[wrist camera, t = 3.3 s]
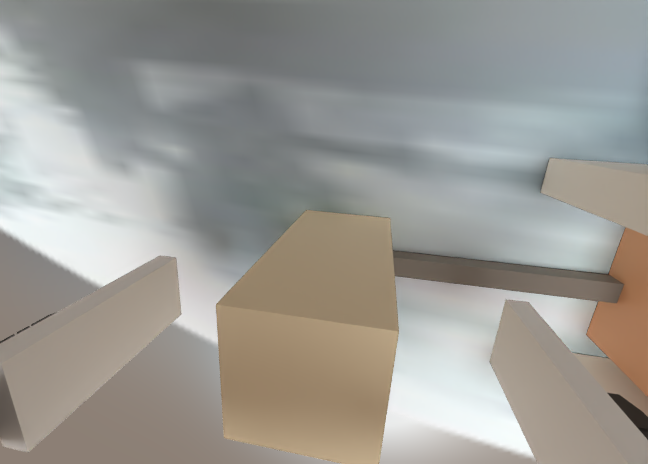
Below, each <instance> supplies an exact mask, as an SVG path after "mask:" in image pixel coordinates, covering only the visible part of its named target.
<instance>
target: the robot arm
mask: <svg viewBox="0 0 648 464" xmlns="http://www.w3.org/2000/svg"><path fill="white" fill-rule="evenodd" d="M180 315H181V305H180V294H179V283H178V272H177V261H176V258H175V257H167V256H158V257H156V258H155V259H153V260H151V261H149V262H147V263H145V264H144V265H142V266H140V267H138V268H136V269H135V270H133V271H131V272H129V273H127V274H125V275H124V276H122V277H120V278H118V279H116V280H115V281H113V282H111V283H109V284H107V285H106V286H104V287H102V288H100V289H98V290H96V291H95V292H93V293H91V294H89V295H87V296H86V297H84V298H82V299H80V300H78V301H77V302H75V303H73V304H71V305H69V306H67V307H66V308H64V309H62V310H60V311H59V312H56V313H53V314H50V315H48V316H46V317H44V318H43V319H41V320H39V321H37V322H35V323H33V324H32V325H31V327H29V326H28V327H26V328H24V329H23V330H21V331H19V332H17V334H16V335H11V336H10V337H8V338H6V339H4V340H2V341H0V439H1V442H2V445H3V447H7V448H11V449H15V450H19V451H24V452H29V451H31V450H32V449H33V448H34V447H35V446H36V445H37V444H38V443H39V442H40V441H42V440H43V439H44V438H45V437H46V436H47V435H48V434H49V433H50V432H52V431H53V430H54V429H55V428H56V427H57V426H58V425H59V424H60V423H62V422H63V421H64V420H65V419H66V418H67V417H68V416H69V415H70V414H72V413H73V412H74V411H75V410H76V409H77V408H78V407H79V406H80V405H81V404H83V403H84V402H85V401H86V400H87V399H88V398H89V397H90V396H91V395H92V394H94V393H95V392H96V391H97V390H98V389H99V388H100V387H101V386H102V385H104V384H105V383H106V382H107V381H108V380H109V379H110V378H111V377H113V376H114V375H115V374H116V373H117V372H118V371H119V370H120V369H121V368H122V367H124V365H126V364H127V363H128V362H129V361H130V360H131V359H132V358H133V357H135V356H136V355H137V354H138V353H139V352H140V351H141V350H142V349H144V348H145V347H146V346H147V345H148V344H149V343H150V342H151V341H152V340H153V339H155V338H156V337H157V336H158V335H159V334H160V333H161V332H162V331H163V330H164V329H166V328H167V327H168V326H169V325H170V324H171V323H172V322H173V321H175V320H176V319H177V318H178V317H179V316H180ZM490 364H491V366H492V368H493V370H494V372H495V374H496V376H497V378H498V381H499V383H500V385H501V387H502V389H503V391H504V393H505V395H506V398H507V400H508V402H509V404H510V406H511V408H512V410H513V412H514V414H515V417H516V419H517V421H518V423H519V425H520V427H521V429H522V431H523V434H524V436H525V438H526V440H527V442H528V444H529V446H530V448H531V451H532V453H533V455H534V457H535V459H536V461H537V463H538V464H648V417H647V416H646V415H645V414H644V412H642V411H641V410H640V409H638V408H637V407H636V406H634V405H633V404H632V403H630V402H629V401H627V400H626V399H625V398H623V397H622V396H621V395H619V394H613V393H607V392H606V391H605V390H604V389H603V388H602V387H601V385H600V384H599V383H598V382H597V381H596V380H595V378H594V377H593V376H592V375H591V374H590V373H589V372H588V370H587V369H586V368H585V367H584V366H583V365H582V363H581V362H580V361H579V360H578V359H577V358H576V357H575V355H574V354H573V353H572V352H571V351H570V350H569V348H568V347H567V346H566V345H565V344H564V343H563V342H562V340H561V339H560V338H559V337H558V336H557V335H556V333H555V332H554V331H553V330H552V329H551V328H550V327H549V325H548V324H547V323H546V322H545V321H544V320H543V318H542V317H541V316H540V315H539V314H538V313H537V312H536V310H535V309H534V308H533V307H532V306H531V305H530V303H529V302H523V301H515V300H507V299H506V300H505V304H504V308H503V312H502V316H501V320H500V324H499V328H498V332H497V335H496V339H495V343H494V347H493V351H492V355H491V359H490Z"/></svg>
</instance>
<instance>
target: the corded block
mask: <svg viewBox="0 0 648 464" xmlns="http://www.w3.org/2000/svg"><path fill="white" fill-rule="evenodd" d="M395 276H398V277H407V278H415V279H423V280H431V281H439V282H447V283H455V284H463V285H471V286H479V287H487V288H496V289H504V290H512V291H520V292H528V293H536V294H544V295H552V296H560V297H568V298H576V299H585V300H593V301H598V304H597V307H596V309H595V312H594V315H593V317H592V320H591V323H590V326H589V328H588V331H587V334H586V335H587V336H588V337H589V338H590V339H591V340H592V341H593V342H594V343H595V344H596V345H597V346H598V347H599V348H600V349H601V350H602V351H603V352H604V353H605V354H606V355H607V356H608V357H609V358H610V359H611V360H612V361H613V362H614V363H615V364H616V365H617V366H618V367H619V368H620V369H621V370H622V371H623V372H624V373H625V374H626V375H627V376H628V377H629V379H630V380H631V381H632V382H633V383H634V384H635V385H636V386H637V387H638V388H639V389H640V390H641V391H642V392H643V393H644V394H645V395H646V396H647V397H648V236H646V235H644V234H641V233H639V232H637V231H634V230H632V229H629V228H627V227H626V228H625V230H624V233H623V236H622V239H621V241H620V244H619V247H618V249H617V252H616V255H615V258H614V260H613V263H612V266H611V268H610V271H609V274H608V275H605V274H597V273H588V272H579V271H570V270H561V269H552V268H543V267H534V266H525V265H516V264H507V263H498V262H489V261H481V260H472V259H463V258H454V257H445V256H436V255H427V254H418V253H409V252H400V251H393V249H392V236H391V223H390V218H384V217H374V216H363V215H353V214H343V213H333V212H322V211H312V210H306V211H305V212H304V213H303V214H302V215H301V216H300V217H299V218H298V219H297V220H296V221H295V222H294V223H293V224H292V225H291V226H290V227H289V228H288V230H287V231H286V232H285V233H284V234H283V235H282V236H281V237H280V238H279V239H278V240H277V241H276V242H275V243H274V244H273V245H272V246H271V247H270V248H269V249H268V250H267V252H266V253H265V254H264V255H263V256H262V257H261V258H260V259H259V260H258V261H257V262H256V263H255V264H254V265H253V266H252V267H251V268H250V269H249V270H248V271H247V272H246V274H245V275H244V276H243V277H242V278H241V279H240V280H239V281H238V282H237V283H236V284H235V285H234V286H233V287H232V288H231V289H230V290H229V291H228V292H227V293H226V294H225V296H224V297H223V298H222V299H221V300H220V301H219V302H218V303H217V304H216V313H217V330H218V347H219V363H220V378H221V396H222V413H223V430H224V438H225V439H230V440H234V441H239V442H244V443H248V444H253V445H258V446H263V447H267V448H272V449H277V450H281V451H286V452H290V453H295V454H300V455H304V456H309V457H314V458H318V459H323V460H328V461H332V462H337V463H342V464H379V461H380V454H381V447H382V441H383V434H384V427H385V420H386V414H387V407H388V401H389V394H390V387H391V381H392V374H393V367H394V361H395V354H396V347H397V341H398V334H399V327H398V314H397V301H396V288H395Z"/></svg>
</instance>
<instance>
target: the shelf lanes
mask: <svg viewBox="0 0 648 464" xmlns="http://www.w3.org/2000/svg"><path fill="white" fill-rule="evenodd" d="M540 193H543V194H545V195H547V196H550V197H552V198H555V199H557V200H560V201H562V202H565V203H567V204H570V205H572V206H575V207H577V208H580V209H582V210H585V211H587V212H590V213H592V214H594V215H597V216H599V217H602V218H604V219H607V220H609V221H612V222H614V223H617V224H619V225H622V226H624V227H627V228H629V229H632V230H634V231H637V232H639V233H641V234H644V235H646V236H648V164H635V163H619V162H604V161H588V160H573V159H558V158H550V159H549V163H548V166H547V170H546V174H545V177H544V181H543V185H542V188H541V192H540ZM573 354H574V355H575V357H576V358H577V359H578V360H579V361H580V362H581V363H582V365H583V366H584V367H585V368H586V369H587V370H588V372H589V373H590V374H591V375H592V376H593V377H594V378H595V380H596V381H597V382H598V383H599V384H600V385H601V387H602V388H603V389H604V390H605V391H606V392H607V393H613V394H619V395H621V396H622V397H623V398H625V399H626V400H627V401H629V402H630V403H632V404H633V405H634V406H636V407H637V408H638V409H640V410H641V411H642V412H644V414H645V415H646V416H647V417H648V397H647V396H646V395H645V394H644V393H643V392H642V391H641V390H640V389H639V388H638V387H637V386H636V385H635V384H634V383H633V382H632V381H631V380H630V379H629V377H628V376H627V375H626V374H625V373H624V372H623V371H622V370H621V369H620V368H619V367H618V366H617V365H616V364H615V363H614V362H613V361H612V360H611V359H610V358H603V357H597V356H590V355H583V354H576V353H573Z"/></svg>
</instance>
